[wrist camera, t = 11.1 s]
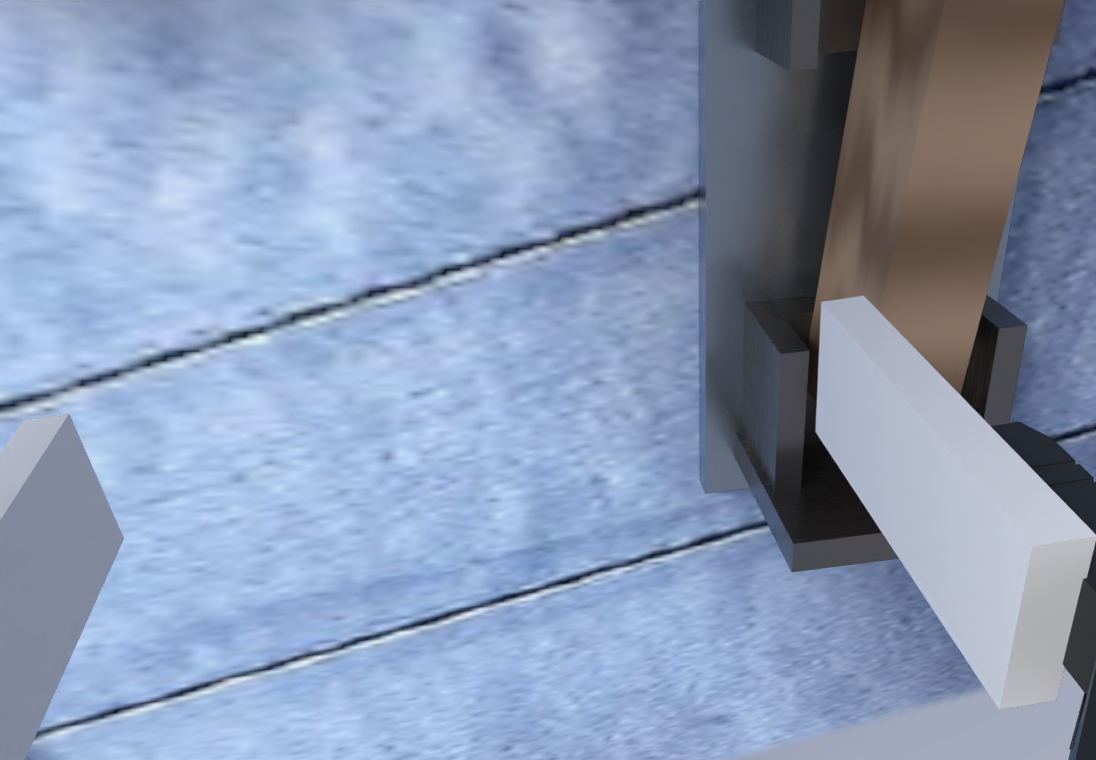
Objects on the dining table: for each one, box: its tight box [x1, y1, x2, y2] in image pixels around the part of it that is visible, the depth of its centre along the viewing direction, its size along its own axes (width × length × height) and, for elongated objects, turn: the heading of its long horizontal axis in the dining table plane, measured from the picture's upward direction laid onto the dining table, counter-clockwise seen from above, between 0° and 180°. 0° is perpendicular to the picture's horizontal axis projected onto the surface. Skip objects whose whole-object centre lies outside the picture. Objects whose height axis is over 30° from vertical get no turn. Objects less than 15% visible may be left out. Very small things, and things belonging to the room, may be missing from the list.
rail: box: [807, 0, 1064, 404], centre depth 36 cm, size 18×4×6 cm, turn 179°
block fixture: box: [699, 0, 1065, 572], centre depth 37 cm, size 32×14×10 cm, turn 5°
